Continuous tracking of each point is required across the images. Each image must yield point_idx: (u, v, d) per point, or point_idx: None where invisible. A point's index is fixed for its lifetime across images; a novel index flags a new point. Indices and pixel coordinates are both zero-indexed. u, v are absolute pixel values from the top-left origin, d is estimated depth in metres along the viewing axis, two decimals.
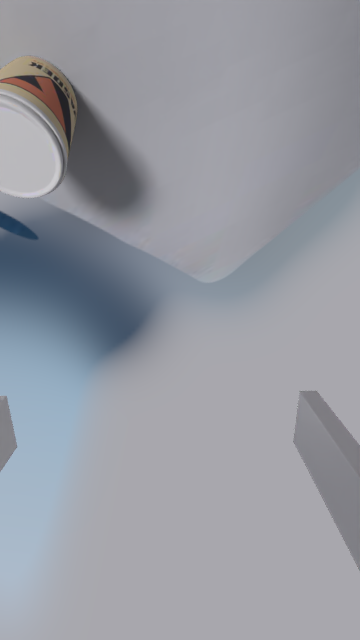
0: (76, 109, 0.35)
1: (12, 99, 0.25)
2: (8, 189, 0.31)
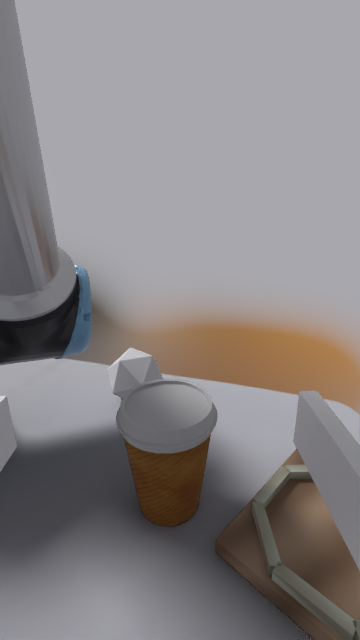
0: None
1: None
2: None
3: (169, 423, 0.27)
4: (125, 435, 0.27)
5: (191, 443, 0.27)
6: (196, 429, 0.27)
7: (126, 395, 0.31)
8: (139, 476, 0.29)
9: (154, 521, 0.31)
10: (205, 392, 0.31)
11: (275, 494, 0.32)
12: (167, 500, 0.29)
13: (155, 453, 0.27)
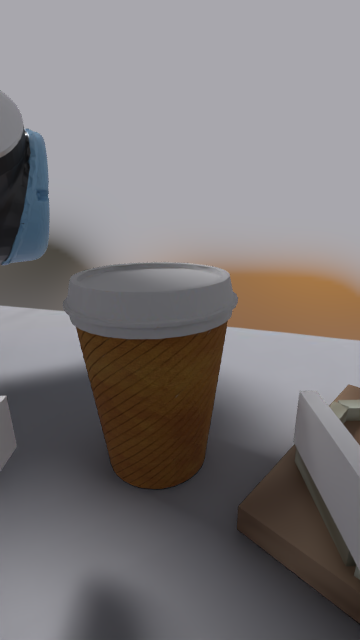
0: None
1: None
2: None
3: None
4: (73, 313, 0.15)
5: (194, 320, 0.14)
6: (203, 297, 0.14)
7: (85, 271, 0.19)
8: (104, 399, 0.17)
9: (132, 481, 0.19)
10: (216, 268, 0.19)
11: None
12: (152, 440, 0.17)
13: (126, 339, 0.14)
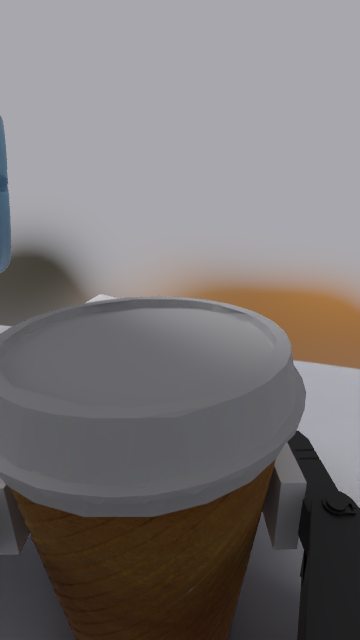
0: None
1: None
2: None
3: (145, 391, 0.07)
4: None
5: (235, 473, 0.06)
6: (253, 413, 0.07)
7: (27, 322, 0.11)
8: None
9: None
10: (255, 315, 0.11)
11: None
12: None
13: (79, 515, 0.06)
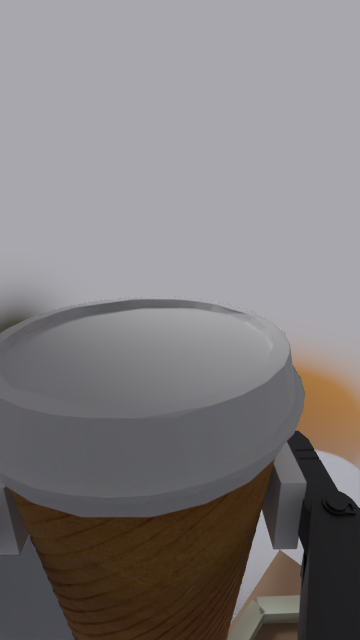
0: None
1: None
2: None
3: (143, 392, 0.07)
4: None
5: (233, 474, 0.06)
6: (251, 414, 0.07)
7: (26, 322, 0.11)
8: None
9: None
10: (254, 315, 0.11)
11: None
12: None
13: (77, 516, 0.06)
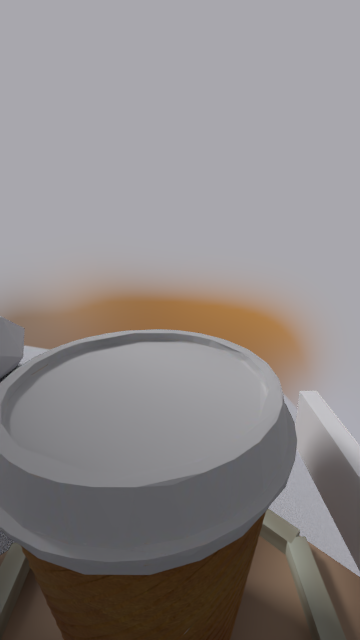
0: None
1: None
2: None
3: (142, 449, 0.07)
4: None
5: (226, 534, 0.06)
6: (244, 474, 0.07)
7: (30, 362, 0.11)
8: None
9: None
10: (250, 355, 0.11)
11: None
12: None
13: (80, 573, 0.07)
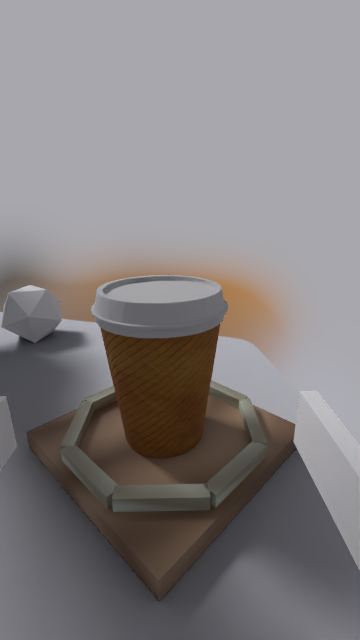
0: None
1: None
2: None
3: (162, 302, 0.20)
4: (101, 318, 0.20)
5: (192, 324, 0.19)
6: (200, 307, 0.19)
7: (106, 283, 0.23)
8: (122, 385, 0.22)
9: (143, 452, 0.23)
10: (211, 281, 0.24)
11: (116, 398, 0.30)
12: (160, 417, 0.22)
13: (142, 338, 0.19)
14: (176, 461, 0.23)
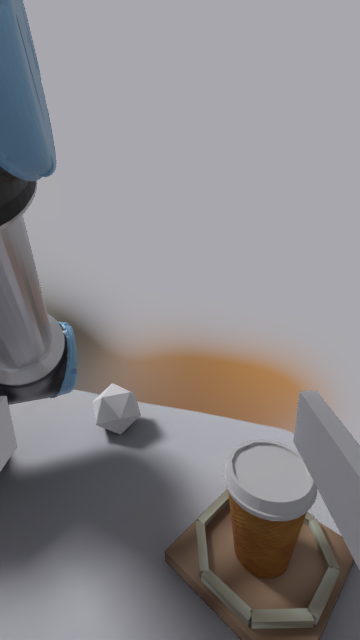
0: None
1: None
2: None
3: (280, 492, 0.31)
4: (241, 503, 0.31)
5: (303, 512, 0.30)
6: (306, 499, 0.30)
7: (230, 460, 0.35)
8: (247, 536, 0.33)
9: (255, 573, 0.35)
10: (300, 456, 0.35)
11: (216, 514, 0.41)
12: (272, 557, 0.33)
13: (271, 520, 0.30)
14: (278, 581, 0.34)
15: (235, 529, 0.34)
